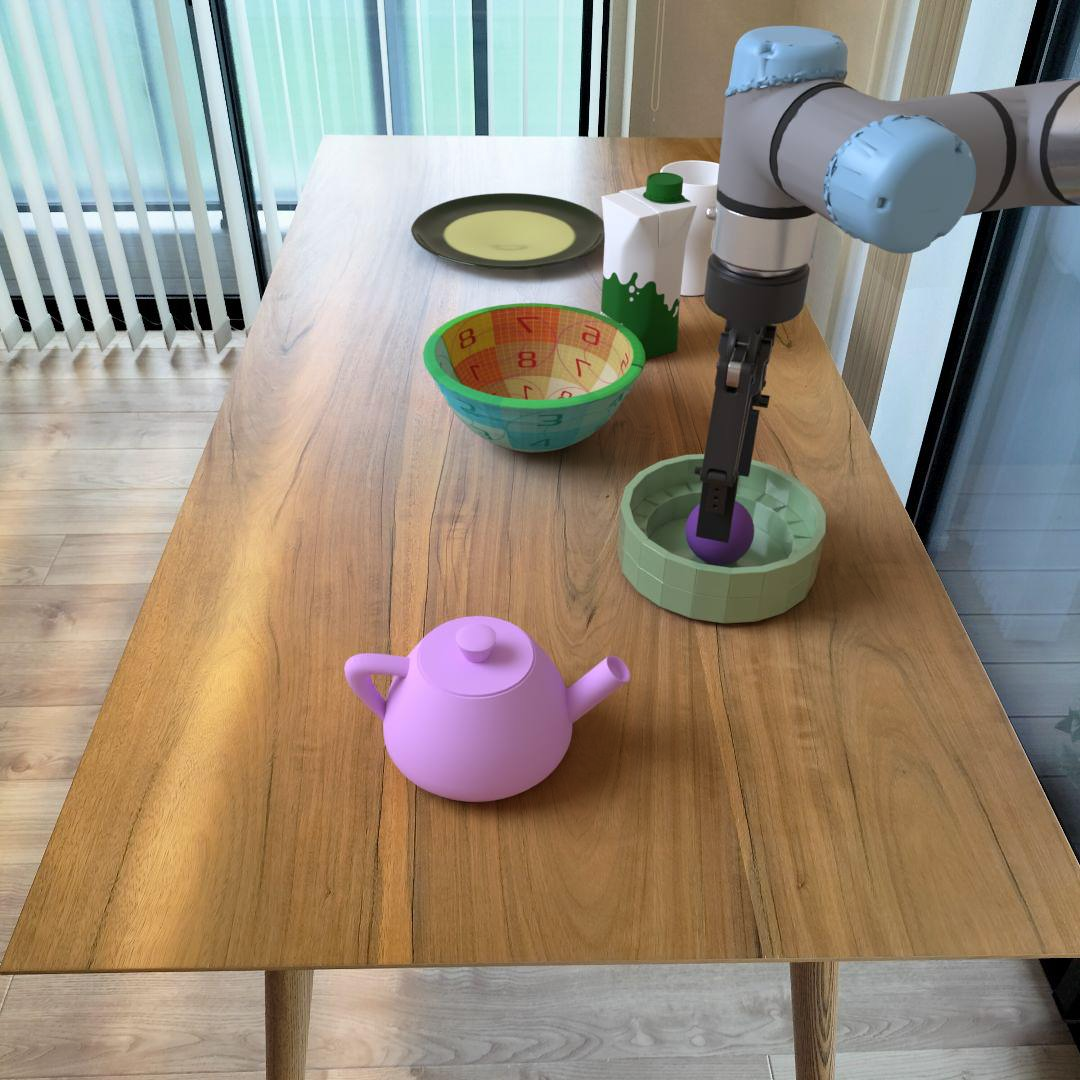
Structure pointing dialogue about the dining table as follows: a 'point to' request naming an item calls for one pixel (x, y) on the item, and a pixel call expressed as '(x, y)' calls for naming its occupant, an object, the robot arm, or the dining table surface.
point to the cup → (697, 220)
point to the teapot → (478, 708)
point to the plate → (509, 231)
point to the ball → (719, 550)
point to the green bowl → (732, 589)
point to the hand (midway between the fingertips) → (723, 503)
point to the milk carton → (646, 259)
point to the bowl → (534, 372)
